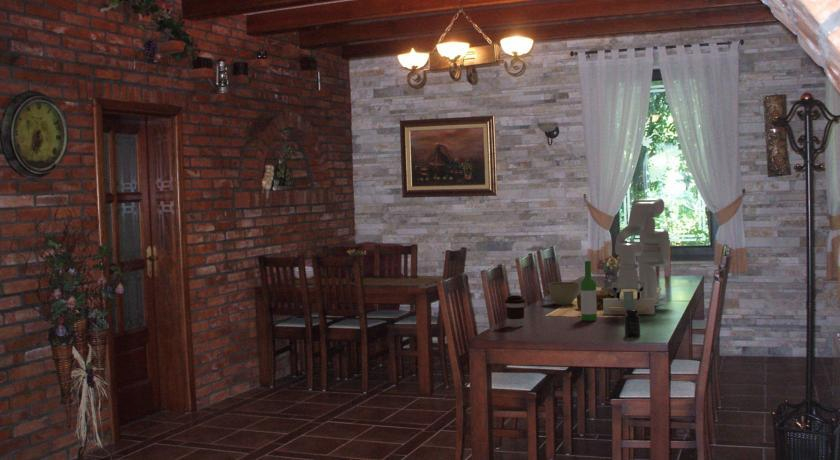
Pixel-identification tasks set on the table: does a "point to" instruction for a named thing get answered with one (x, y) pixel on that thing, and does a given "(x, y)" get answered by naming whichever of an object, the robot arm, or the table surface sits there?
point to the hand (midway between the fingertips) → (628, 300)
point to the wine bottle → (588, 295)
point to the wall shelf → (618, 308)
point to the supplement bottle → (632, 323)
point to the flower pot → (563, 292)
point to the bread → (598, 298)
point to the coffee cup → (515, 310)
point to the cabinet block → (628, 299)
